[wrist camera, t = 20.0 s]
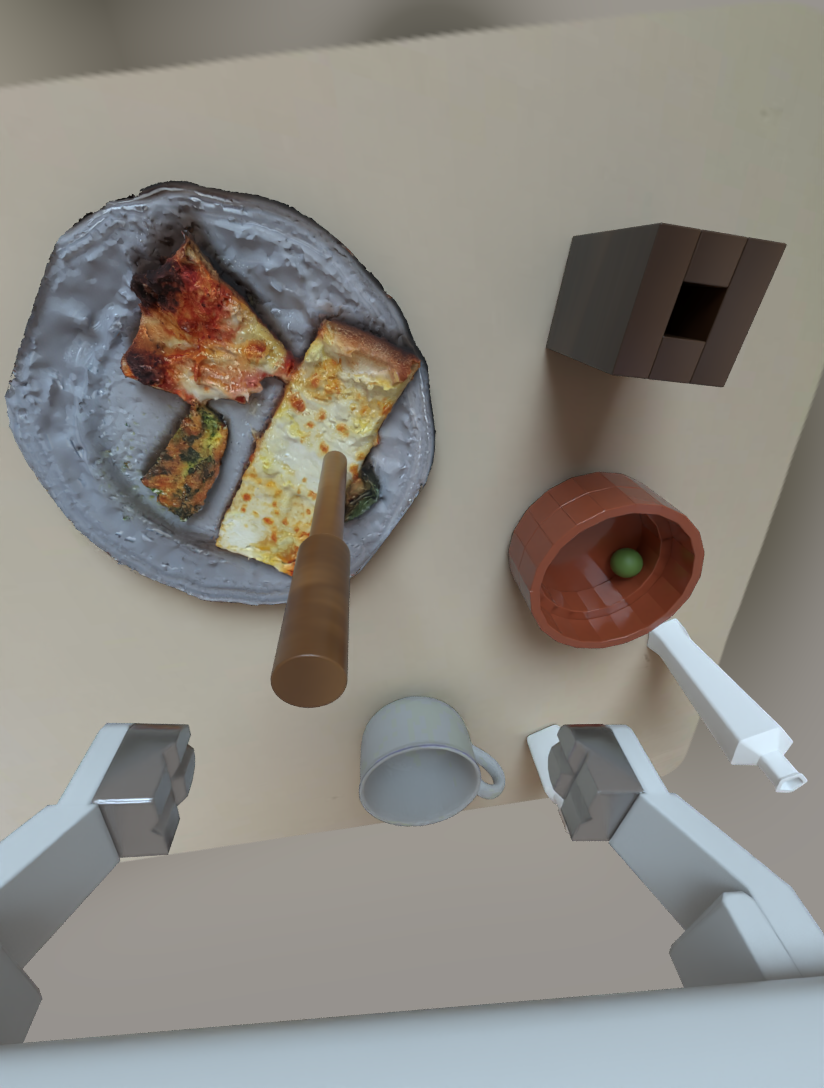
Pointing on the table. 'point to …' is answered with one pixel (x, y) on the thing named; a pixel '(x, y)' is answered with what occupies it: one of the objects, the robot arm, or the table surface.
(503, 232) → the table surface
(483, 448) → the table surface
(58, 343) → the food plate
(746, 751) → the white faceted bottle
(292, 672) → the stirring stick
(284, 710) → the table surface
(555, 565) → the bowl
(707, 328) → the utensil block
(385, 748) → the teacup
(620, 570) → the bead
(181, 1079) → the robot arm
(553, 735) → the salt shaker
